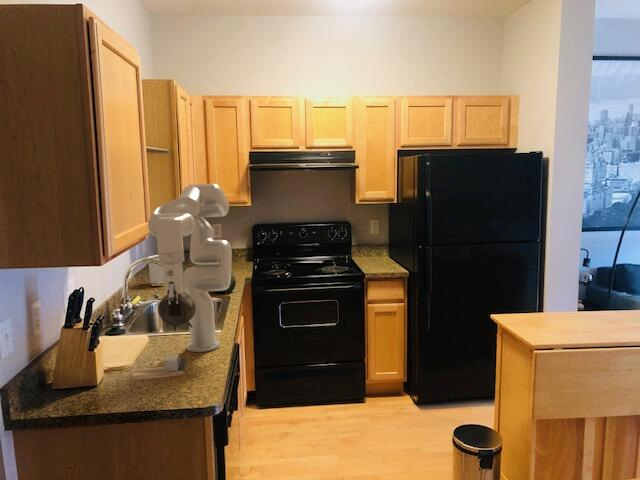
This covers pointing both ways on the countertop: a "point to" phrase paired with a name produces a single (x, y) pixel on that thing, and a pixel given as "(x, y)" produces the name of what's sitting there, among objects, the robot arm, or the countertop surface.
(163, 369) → the track
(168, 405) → the countertop surface
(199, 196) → the robot arm
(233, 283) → the squash
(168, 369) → the block
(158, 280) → the utensil holder
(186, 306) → the alarm clock
